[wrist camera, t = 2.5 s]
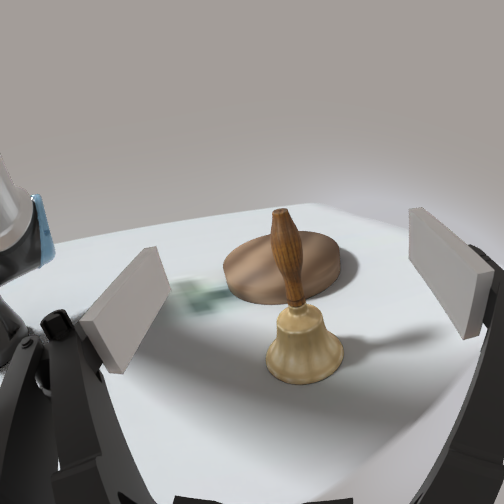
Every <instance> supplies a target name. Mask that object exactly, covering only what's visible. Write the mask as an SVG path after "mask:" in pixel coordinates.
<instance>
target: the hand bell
mask: <svg viewBox="0 0 504 504" xmlns="http://www.w3.org/2000/svg"><path fill="white" fill-rule="evenodd" d="M270 240H271V248H272V253H273V257H274V260H275V263H276V265H277V267H278V269H279V271H280V273H281V274H282V277H283V279H284V283H285V289H286V296H287V303H288V306H289V307H287V308H286V309H284V310H283V311H282V312H281V313H280V314H279V316H278V318H277V338H276V339H275V340H274V341H273V343H272V344H271V345H270V347H269V349H268V351H267V354H266V365H267V368H268V370H269V372H270V373H271V374H272V375H273V376H274V377H276V378H277V379H279V380H281V381H283V382H286V383H290V384H310V383H314V382H318V381H320V380H323V379H325V378H326V377H328V376H330V375H331V374H332V373H334V372H335V371H336V370H337V368H338V367H339V366H340V364H341V362H342V360H343V355H344V351H343V346H342V344H341V342H340V341H339V339H338V338H337V337H336V336H335V335H334V334H332V333H331V332H329V331H327V329H326V327H325V324H324V321H323V316H322V313H321V311H320V310H319V309H318V308H317V307H315V306H313V305H309V304H306V300H305V296H304V290H303V286H302V281H301V271H302V265H303V248H302V241H301V238H300V234H299V232H298V229H297V227H296V225H295V224H294V222H293V220H292V218H291V216H290V214H289V212H288V210H287V209H285V208H281V209H276V210H274V211H273V212H272V227H271V235H270Z"/></svg>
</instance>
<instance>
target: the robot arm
mask: <svg viewBox="0 0 504 504" xmlns="http://www.w3.org/2000/svg"><path fill="white" fill-rule="evenodd" d="M54 257H55V247H54V244H53V241H52V237H51V234H50V230H49V226H48V222H47V219H46V214H45V210H44V206H43V202H42V198H41V196H40V195H39V194H36V195H31V196H30V195H29V194H28V192H27V191H26V190H25V189H23V188H22V187H19V186H16V185H14V183H13V181H12V179H11V177H10V175H9V172H8V170H7V168H6V166H5V163H4V161H3V159H2V156H1V154H0V287H1V286H3V285H5V284H7V283H8V282H10V281H12V280H14V279H16V278H18V277H20V276H22V275H24V274H26V273H28V272H30V271H32V270H35V269H37V268H41V267H42V266H43V265H44V264H46V263H48V262H50V261H51V260H53V258H54ZM409 260H410V261H411V263H412V264H413V265H414V267H415V268H416V270H417V271H418V272H419V274H420V275H421V277H422V278H423V279H424V281H425V282H426V284H427V285H428V287H429V288H430V289H431V291H432V292H433V294H434V295H435V297H436V298H437V300H438V301H439V303H440V304H441V306H442V307H443V309H444V310H445V312H446V313H447V315H448V317H449V318H450V320H451V321H452V323H453V325H454V326H455V328H456V329H457V331H458V333H459V334H460V336H461V338H462V339H463V340H465V339H469V338H472V337H476V336H479V334H480V331H481V327H482V324H483V323H484V324H485V326H486V327H487V333H486V336H485V339H484V342H483V345H482V348H481V351H480V352H481V354H480V357H479V360H478V363H477V367H476V370H475V373H474V376H473V378H472V382H471V384H470V387H469V390H468V392H467V395H466V398H465V400H464V402H463V405H462V407H461V410H460V412H459V415H458V417H457V419H456V421H455V424H454V426H453V428H452V430H451V432H450V435H449V437H448V439H447V441H446V443H445V445H444V447H443V449H442V451H441V453H440V455H439V456H438V458H437V460H436V462H435V464H434V466H433V467H432V469H431V471H430V473H429V474H428V476H427V478H426V479H425V481H424V483H423V485H422V486H421V488H420V489H419V491H418V492H417V494H416V495H415V497H414V498H413V499H412V501H411V502H410V504H494V502H495V499H496V497H497V495H498V492H499V490H500V488H501V485H502V483H503V480H504V465H503V460H504V270H503V269H502V268H501V267H499V266H498V265H497V264H496V263H495V262H494V261H493V260H491V258H490V257H489V256H486V254H485V253H484V252H483V251H482V250H480V249H479V248H477V247H475V246H473V245H467V244H466V243H465V242H463V241H462V240H461V239H460V238H459V237H458V236H456V235H455V234H454V233H453V232H452V231H451V230H450V229H448V228H447V227H446V226H445V225H444V224H442V223H441V222H440V221H439V220H437V219H436V218H435V217H434V216H432V215H431V214H430V213H429V212H427V211H426V210H425V209H424V208H422V207H421V208H413V209H409ZM170 292H171V287H170V285H169V282H168V279H167V276H166V274H165V271H164V268H163V265H162V262H161V259H160V256H159V253H158V250H157V247H156V246H155V247H149V248H144V249H143V250H142V251H141V252H140V253H139V254H138V255H137V256H136V257H135V258H134V260H133V261H132V262H131V263H130V264H129V265H128V266H127V267H126V268H125V269H124V270H123V271H122V272H121V274H120V275H119V276H118V277H117V278H116V279H115V280H114V281H113V282H112V283H111V285H110V286H109V287H108V288H107V289H106V290H105V291H104V292H103V294H102V295H101V296H100V297H99V298H98V299H97V300H96V301H95V302H94V303H93V305H92V306H91V307H90V308H89V309H88V310H87V312H86V313H85V314H84V315H83V316H82V317H81V319H80V320H79V321H78V322H77V323H76V325H75V326H73V324H72V322H71V320H70V318H69V317H68V315H67V313H66V311H65V310H63V309H61V310H56V311H54V312H52V313H50V314H48V315H47V316H46V317H45V318H44V319H43V320H42V321H41V323H40V325H41V327H42V329H43V331H44V332H45V334H46V336H47V337H48V339H49V341H50V342H47V343H43V344H42V342H41V341H40V339H39V337H38V336H37V335H31V336H29V337H28V328H27V327H26V325H25V323H24V321H23V320H22V319H21V318H20V317H19V316H18V315H17V314H16V313H15V312H14V311H13V310H12V309H11V307H10V306H9V305H8V304H7V303H6V302H5V301H4V300H3V299H2V297H1V295H0V367H1V366H3V365H4V364H5V363H7V362H8V361H9V360H11V362H10V364H9V367H8V369H7V372H6V374H5V377H4V379H3V382H2V384H1V387H0V504H157V503H156V502H155V501H154V499H153V498H152V497H151V495H150V493H149V491H148V489H147V487H146V485H145V483H144V481H143V479H142V477H141V475H140V473H139V470H138V468H137V466H136V464H135V462H134V459H133V457H132V455H131V452H130V450H129V448H128V445H127V443H126V440H125V438H124V435H123V433H122V430H121V427H120V425H119V422H118V419H117V416H116V414H115V411H114V408H113V405H112V402H111V399H110V396H109V393H108V390H107V387H106V383H105V380H104V377H103V374H102V373H101V371H100V370H99V368H100V366H101V365H102V363H103V364H104V366H105V367H106V369H107V370H108V372H109V373H115V374H124V372H125V370H126V368H127V366H128V365H129V363H130V361H131V359H132V357H133V356H134V354H135V352H136V350H137V349H138V347H139V345H140V343H141V342H142V340H143V338H144V336H145V335H146V333H147V331H148V329H149V328H150V326H151V324H152V322H153V321H154V319H155V317H156V316H157V314H158V312H159V310H160V309H161V307H162V305H163V304H164V302H165V300H166V299H167V297H168V295H169V294H170ZM35 379H36V380H37V381H38V383H39V384H40V388H39V387H38V385H37V383H36V380H35ZM58 458H59V463H60V471H58ZM173 504H222V503H219V502H216V501H211V500H202V499H194V498H187V497H181V496H175V498H174V501H173ZM303 504H353V498H347V499H339V500H330V501H320V502H307V503H303Z"/></svg>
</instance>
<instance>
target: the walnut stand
mask: <svg viewBox="0 0 504 504" xmlns="http://www.w3.org/2000/svg"><path fill="white" fill-rule="evenodd" d="M298 232H299V234H300V238H301V241H302V248H303V265H302V271H301V281H302V286H303V290H304V296H305V299H307V298H309V297H312V296H314V295H316V294H318V293H320V292H322V291H324V290H325V289H327V288H328V287H329V286H330V285H332V284H333V283H334V281H335V280H336V279H337V277H338V276H339V273H340V268H341V267H340V253H339V246H338V244H337V243H336V242H335V241H334V240H333V239H332V238H330V237H328V236H326V235H323V234H320V233H315V232H308V231H298ZM270 235H271V234H269V235H266V236H262V237H259V238H256V239H253V240H251V241H248V242H246V243H244V244H242V245H240V246H239V247H237V248H236V249H234V250H233V251H232V252H231V253H230V254H229V255H228V256H227V257H226V259H225V261H224V264H223V269H224V273H225V277H226V280H227V284H228V288H229V290H230V291H231V292H232V293H233V294H234V295H235V296H236V297H238V298H240V299H242V300H244V301H247V302H251V303H256V304H264V305H275V304H286V303H287V296H286V289H285V283H284V279H283V277H282V274H281V273H280V271H279V269H278V267H277V265H276V263H275V260H274V257H273V253H272V248H271V240H270Z"/></svg>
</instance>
